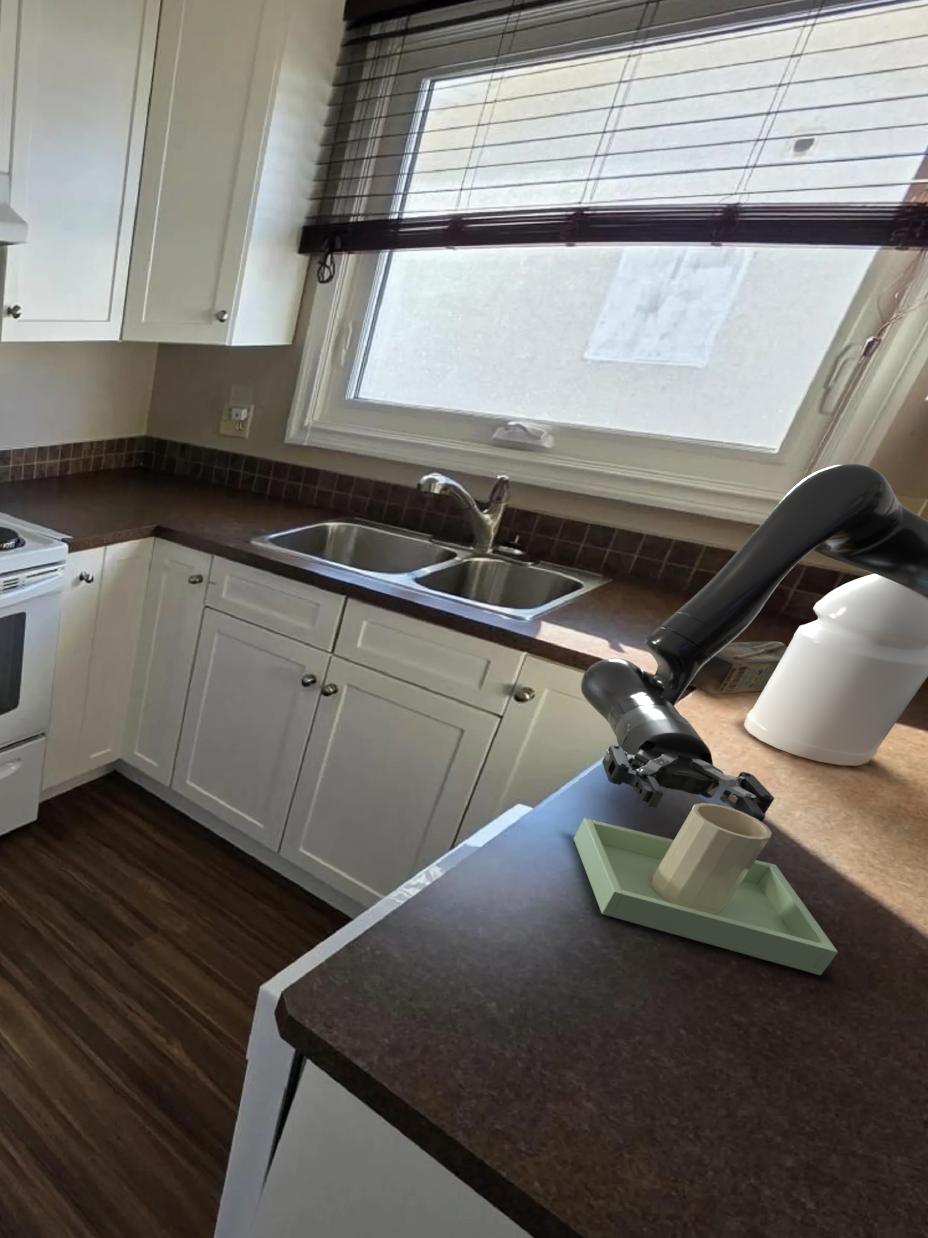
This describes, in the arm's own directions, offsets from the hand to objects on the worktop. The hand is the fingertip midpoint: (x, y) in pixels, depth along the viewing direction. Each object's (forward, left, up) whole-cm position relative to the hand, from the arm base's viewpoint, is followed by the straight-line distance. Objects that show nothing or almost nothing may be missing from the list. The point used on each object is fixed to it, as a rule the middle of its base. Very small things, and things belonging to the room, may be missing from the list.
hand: (703, 811), depth 87 cm
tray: (0, +6, -8) cm, 10 cm away
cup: (0, +5, -8) cm, 9 cm away
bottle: (-28, -48, -8) cm, 57 cm away
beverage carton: (-26, -70, -8) cm, 76 cm away
